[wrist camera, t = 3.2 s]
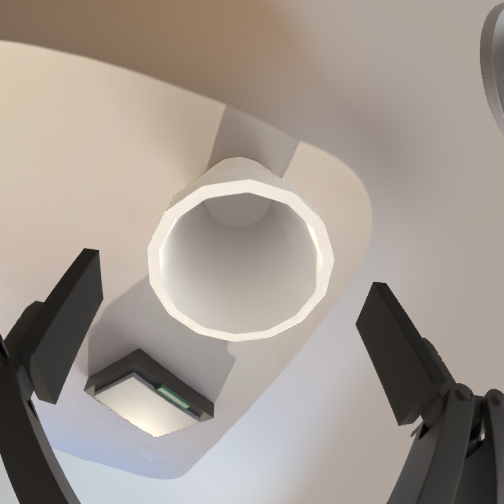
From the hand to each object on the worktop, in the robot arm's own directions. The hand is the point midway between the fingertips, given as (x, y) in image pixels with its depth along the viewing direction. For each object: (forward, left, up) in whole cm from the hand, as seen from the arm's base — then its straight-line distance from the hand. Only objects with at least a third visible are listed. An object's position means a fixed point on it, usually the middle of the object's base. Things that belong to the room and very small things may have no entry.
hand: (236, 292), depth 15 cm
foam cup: (0, 0, -15) cm, 15 cm away
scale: (-15, +26, -15) cm, 34 cm away
